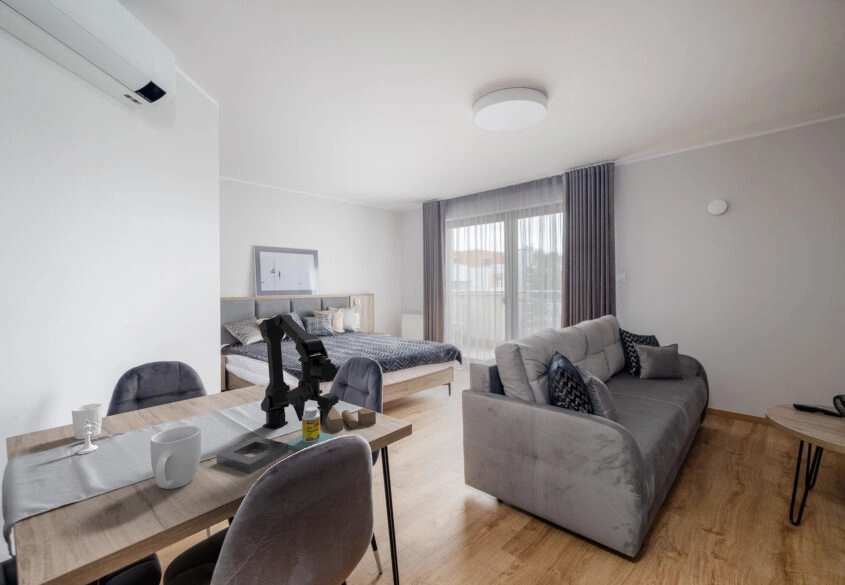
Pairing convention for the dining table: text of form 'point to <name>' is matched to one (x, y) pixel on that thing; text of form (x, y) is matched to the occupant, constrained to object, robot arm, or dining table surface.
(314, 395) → the robot arm
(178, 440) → the mug
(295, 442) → the mat
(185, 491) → the dining table surface
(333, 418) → the wooden block set
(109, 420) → the dining table surface
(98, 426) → the white cup
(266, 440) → the frame
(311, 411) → the supplement bottle
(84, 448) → the chess piece
